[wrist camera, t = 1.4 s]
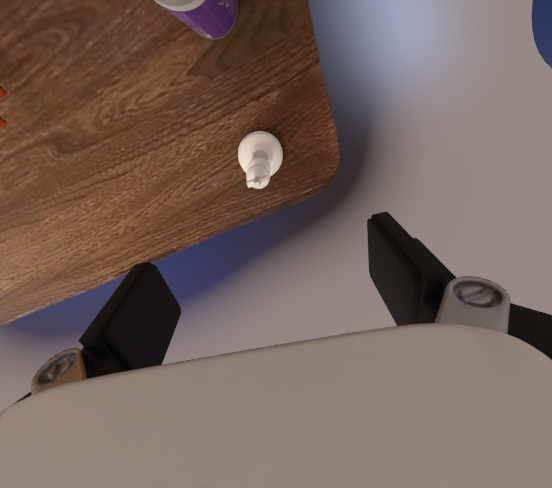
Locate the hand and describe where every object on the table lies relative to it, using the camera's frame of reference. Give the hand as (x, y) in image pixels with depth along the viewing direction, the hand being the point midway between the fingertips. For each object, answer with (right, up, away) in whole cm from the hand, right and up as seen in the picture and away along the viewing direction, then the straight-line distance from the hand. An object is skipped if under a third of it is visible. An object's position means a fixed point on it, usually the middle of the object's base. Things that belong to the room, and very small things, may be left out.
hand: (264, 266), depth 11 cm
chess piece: (-1, +11, +17) cm, 20 cm away
